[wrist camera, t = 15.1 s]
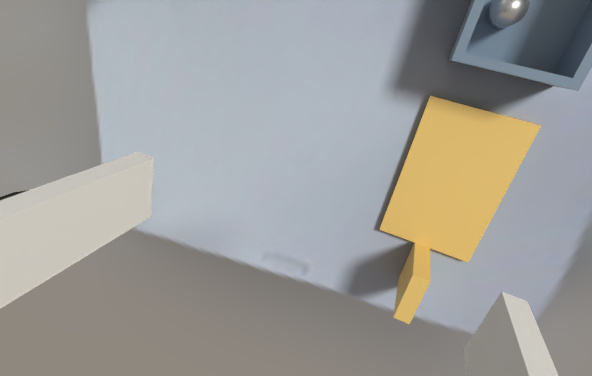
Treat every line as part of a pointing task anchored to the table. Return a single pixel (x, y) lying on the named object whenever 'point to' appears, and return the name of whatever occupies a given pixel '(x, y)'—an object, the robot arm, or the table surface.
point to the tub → (531, 42)
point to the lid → (451, 187)
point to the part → (506, 12)
